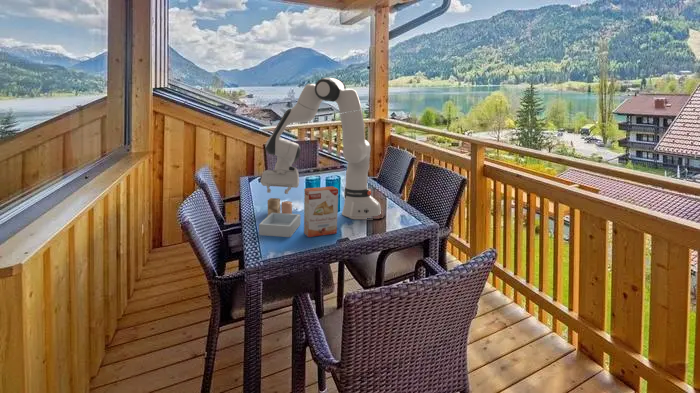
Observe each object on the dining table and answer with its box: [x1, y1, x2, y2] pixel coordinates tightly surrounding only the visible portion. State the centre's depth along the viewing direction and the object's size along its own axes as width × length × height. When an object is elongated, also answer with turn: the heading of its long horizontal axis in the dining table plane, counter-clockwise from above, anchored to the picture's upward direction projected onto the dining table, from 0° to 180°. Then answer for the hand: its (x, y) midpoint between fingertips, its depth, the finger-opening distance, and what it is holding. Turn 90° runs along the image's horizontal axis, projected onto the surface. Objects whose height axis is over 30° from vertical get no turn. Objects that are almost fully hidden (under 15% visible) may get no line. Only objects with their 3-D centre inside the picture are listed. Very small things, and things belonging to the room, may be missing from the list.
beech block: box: [267, 197, 281, 216], centre depth 206 cm, size 5×5×8 cm
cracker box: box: [303, 186, 339, 238], centre depth 178 cm, size 14×6×21 cm, turn 117°
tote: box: [258, 212, 301, 238], centre depth 184 cm, size 14×18×5 cm
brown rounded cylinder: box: [281, 200, 293, 214], centre depth 197 cm, size 5×5×9 cm
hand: (277, 192), depth 210 cm, fingers open, 8 cm apart
